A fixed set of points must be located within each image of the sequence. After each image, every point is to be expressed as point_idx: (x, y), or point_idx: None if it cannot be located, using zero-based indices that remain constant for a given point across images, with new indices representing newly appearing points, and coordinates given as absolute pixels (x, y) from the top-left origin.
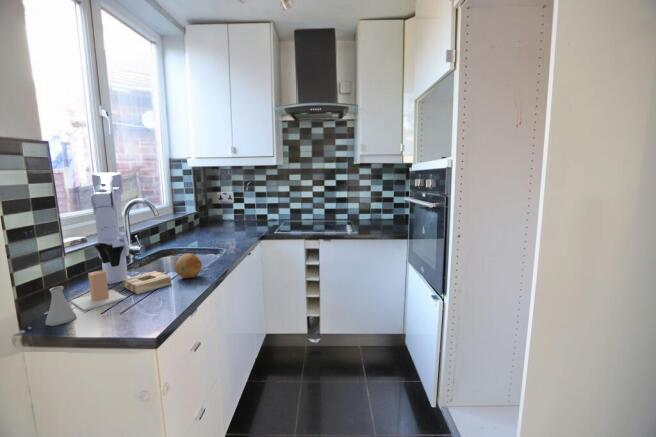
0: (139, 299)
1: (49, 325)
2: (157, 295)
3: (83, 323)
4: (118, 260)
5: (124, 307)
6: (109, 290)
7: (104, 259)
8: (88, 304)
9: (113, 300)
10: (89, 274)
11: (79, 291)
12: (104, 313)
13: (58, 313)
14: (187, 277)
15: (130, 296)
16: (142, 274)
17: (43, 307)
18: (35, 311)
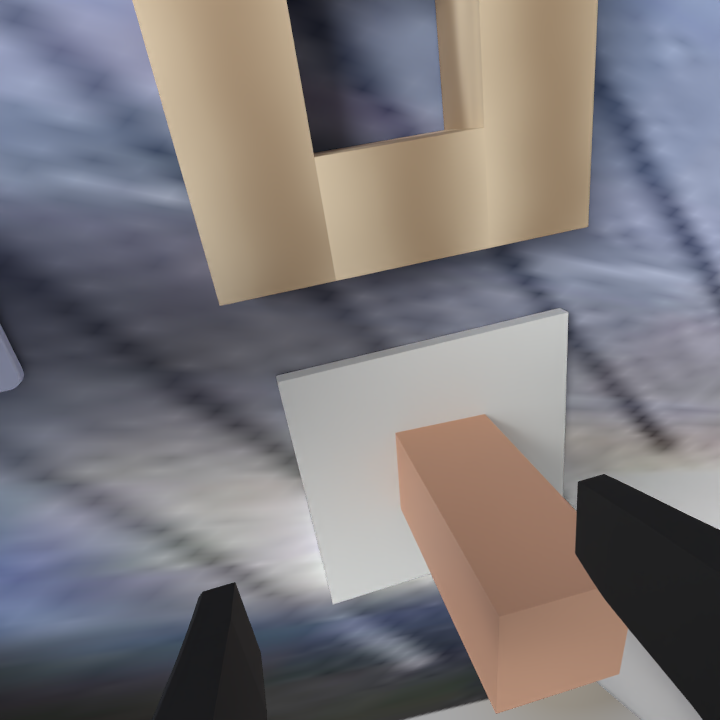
0: (658, 230)
1: None
2: (708, 81)
3: (704, 514)
4: (687, 535)
5: (699, 340)
6: (295, 402)
7: (259, 714)
8: None
9: (563, 392)
10: (546, 691)
11: (87, 581)
12: (679, 438)
13: None
14: None
15: (539, 273)
16: (152, 23)
17: (308, 693)
18: (347, 707)
